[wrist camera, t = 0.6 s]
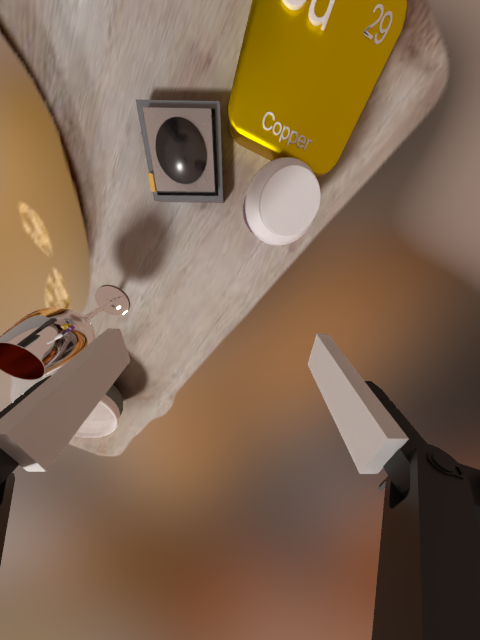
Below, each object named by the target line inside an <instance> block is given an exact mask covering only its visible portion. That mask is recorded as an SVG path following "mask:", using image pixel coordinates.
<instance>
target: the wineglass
mask: <svg viewBox="0 0 480 640" xmlns="http://www.w3.org/2000/svg"><path fill="white" fill-rule="evenodd" d="M95 298H96V302H97V304H98V305H99V306H100V307H99V308H97V309H96V310H94V311H92V312H91V313H89V314H87V315H82V314H80V313H78V312H76V311H74V310H70V309H66V308H59V307H50V308H43V309H39V310H36V311H34V312H32V313H30V314H28V315H26V316H25V317H23V318H22V319H21V320H19V321H18V322H17V323H15V324H14V325H13V326H12V327H11V328H9V329H8V330H7V331H6V332H5V333H3V334H2V335H1V336H0V370H1V371H3V372H5V373H7V374H9V375H11V376H13V377H16V378H19V379H24V380H37V379H40V378H42V377H44V376H46V375H48V374H50V373H52V372H54V371H56V370H58V369H60V368H62V367H63V366H64V365H65V364H66V363H68V362H69V361H70V360H71V359H72V358H73V357H75V356H76V355H77V354H78V353H79V352H81V351H82V350H83V349H84V348H85V347H87V346H88V345H89V344H90V343H91V342H93V341H94V340H95V331H94V328H93V325H92V324H91V322H90V319H91V318H92V317H94V316H95V315H97V314H98V313H100V312H101V311H103V310H104V311H105V312H107V313H109V314H112V315H123V314H125V313H126V312H127V311H128V309H129V301H128V298H127V297H126V295H125V294H124V293H123V292H122V291H121V290H119V289H117V288H115V287H112V286H103V287H100V288H99V289H98V290H97V291H96V294H95Z"/></svg>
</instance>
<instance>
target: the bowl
mask: <svg viewBox="0 0 480 640" xmlns="http://www.w3.org/2000/svg"><path fill="white" fill-rule="evenodd" d="M122 411H123V399H122V396H121V394H120V392H119V391H118V389H117V388H116V387H115V386H114V385H112V386H111V387H110V389H109V390H108V391H107V393H106V394H105V395H104V396H103V398H102V399H101V400H100V402H99V403H98V404H97V406H96V407H95V408H94V410H93V411H92V412H91V414H90V415H89V416H88V418H87V419H86V420H85V421H84V423H83V424H82V425H81V427H80V428H79V429H78V431H77V432H76V433H75V435H74V436H76V437H83V438H98V437H103V436H106V435H109V434H110V433H112V432H113V431H114V430H115V429H116V428H117V426H118V422H119V417H120V415H121V413H122Z"/></svg>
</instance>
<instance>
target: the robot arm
mask: <svg viewBox="0 0 480 640" xmlns="http://www.w3.org/2000/svg"><path fill="white" fill-rule="evenodd" d="M130 361H131V360H130V357H129V354H128V351H127V349H126V346H125V343H124V340H123V337H122V334H121V331H120V329H107V330H106V331H104V332H103V333H102V334H101V335H100V336H98V337H97V338H96V339H95V340H94V341H93V342H91V343H90V344H89V345H88V346H87V347H85V348H84V349H83V350H82V351H81V352H79V353H78V354H77V355H76V356H75V357H73V358H72V359H71V360H70V361H69V362H68V363H66V364H65V365H64V366H63V367H62V368H60V369H59V370H58V371H57V372H56V373H54V374H53V375H52V376H48V377H46V378H45V379H43V380H41V381H39V382H38V383H36V384H35V385H33V386H32V387H31V388H30V389H28V390H27V391H26V392H25V393H24V395H21V396H20V397H19V398H17V399H16V400H15V401H14V403H11V404H10V405H9V406H7V407H6V408H5V409H4V410H3V411H1V412H0V565H1V558H2V552H3V547H4V541H5V535H6V529H7V523H8V517H9V511H10V505H11V499H12V493H13V487H14V482H15V476H14V474H13V473H12V472H13V471H14V469H15V468H16V467H17V466H18V465H20V466H22V467H23V468H24V469H25V470H26V471H39V472H41V471H43V472H46V471H47V470H48V469H49V467H50V466H51V465H52V464H53V462H54V461H55V459H56V458H57V457H58V456H59V454H60V453H61V452H62V450H63V449H64V448H65V446H66V445H67V444H68V442H69V441H70V440H71V439H72V437H73V436H74V435H75V433H76V432H77V431H78V429H79V428H80V427H81V425H82V424H83V423H84V421H85V420H86V419H87V418H88V416H89V415H90V414H91V412H92V411H93V410H94V408H95V407H96V406H97V404H98V403H99V402H100V400H101V399H102V398H103V396H104V395H105V394H106V393H107V391H108V390H109V389H110V387H111V386H112V385H113V383H114V382H115V381H116V379H117V378H118V377H119V375H120V374H121V373H122V371H123V370H124V369H125V368H126V366H127V365H128V364H129V362H130ZM308 366H309V368H310V370H311V372H312V374H313V377H314V379H315V381H316V383H317V385H318V387H319V389H320V391H321V393H322V396H323V398H324V400H325V402H326V404H327V406H328V408H329V410H330V412H331V414H332V416H333V418H334V421H335V423H336V425H337V427H338V429H339V431H340V433H341V435H342V438H343V440H344V442H345V444H346V446H347V448H348V450H349V452H350V454H351V457H352V459H353V461H354V463H355V465H356V467H357V469H358V471H359V473H360V474H377V473H378V472H379V471H380V470H381V469H382V468H383V467H384V469H385V471H386V472H387V474H388V477H387V478H386V479H385V480H384V481H383V482H382V483H381V484H380V486H379V489H380V490H382V489H384V488H385V497H384V508H383V519H382V530H381V541H380V553H379V564H378V576H377V586H376V597H375V609H374V619H373V631H372V640H480V470H478V469H475V468H472V467H468V466H466V465H462V464H459V463H458V462H457V461H456V460H454V459H453V458H452V457H451V456H450V455H449V454H447V453H446V452H444V451H443V450H441V449H440V448H437V447H435V446H432V445H429V444H427V443H426V441H424V439H423V438H422V437H421V436H420V435H419V433H418V432H417V431H416V430H415V429H414V427H413V426H412V425H411V424H410V423H409V422H408V420H407V419H406V418H405V417H404V416H403V414H402V413H401V412H400V411H399V410H398V409H397V408H396V406H395V405H394V404H393V402H392V401H390V400H389V398H388V396H387V395H386V394H385V393H384V392H383V390H382V389H380V388H379V387H378V386H377V385H375V384H374V383H373V382H371V381H364V380H363V379H362V378H361V376H360V375H359V374H358V372H357V371H356V370H355V369H354V367H353V366H352V365H351V363H350V362H349V361H348V360H347V358H346V357H345V356H344V354H343V353H342V352H341V351H340V349H339V348H338V347H337V346H336V344H335V343H334V342H333V340H332V339H331V338H330V336H329V335H328V334H317V335H316V338H315V341H314V345H313V348H312V352H311V355H310V358H309V362H308Z"/></svg>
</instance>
